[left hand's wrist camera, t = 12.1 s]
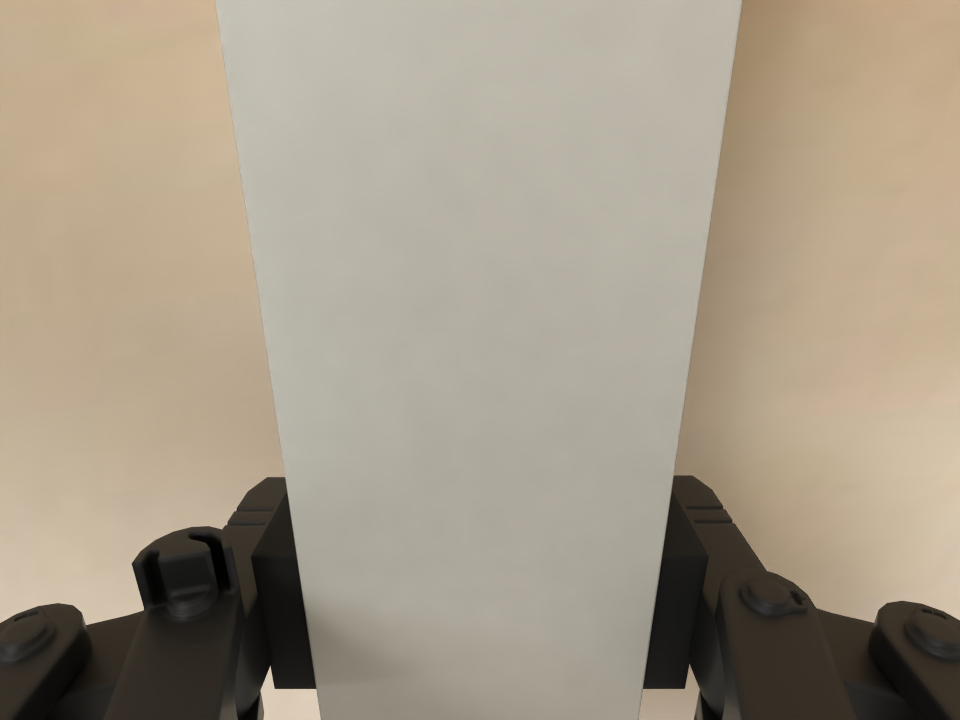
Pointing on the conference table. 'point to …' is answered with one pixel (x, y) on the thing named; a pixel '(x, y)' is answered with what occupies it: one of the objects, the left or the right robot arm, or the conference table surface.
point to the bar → (479, 330)
